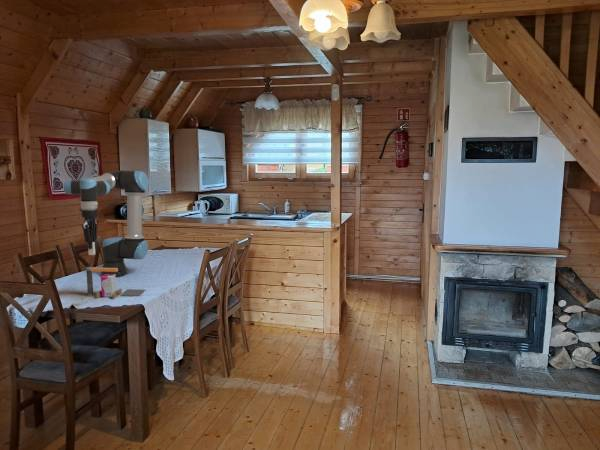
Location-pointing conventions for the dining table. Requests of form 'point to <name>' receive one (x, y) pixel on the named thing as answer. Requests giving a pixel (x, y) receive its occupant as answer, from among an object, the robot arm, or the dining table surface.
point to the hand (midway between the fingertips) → (91, 254)
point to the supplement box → (108, 285)
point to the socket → (90, 291)
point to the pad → (132, 292)
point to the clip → (102, 269)
